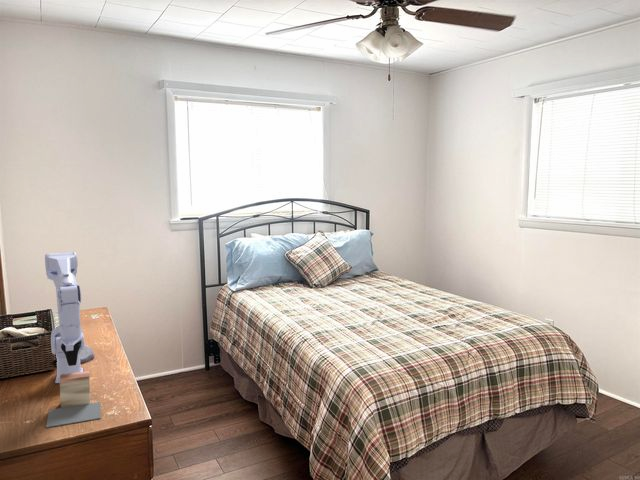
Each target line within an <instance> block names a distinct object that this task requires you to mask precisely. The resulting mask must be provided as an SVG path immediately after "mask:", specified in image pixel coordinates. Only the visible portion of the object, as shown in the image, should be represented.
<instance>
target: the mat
mask: <svg viewBox="0 0 640 480" xmlns="http://www.w3.org/2000/svg"><path fill="white" fill-rule="evenodd" d="M101 405H102V402H101V401H98V402H92V403H91V402H90V404H84V405H78V406H71V407H65V408H61V407H59V408H54V409H49V411H48V415H47V420H46V424H45V428H46V429H48V428H55V427H60V426H67V425H71V424H72V425H73V424H78V423H83V422H90V421H94V420H101V416H102V415H101V413H102V412H101V411H102V410H101V408H102V406H101Z"/></svg>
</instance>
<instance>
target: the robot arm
mask: <svg viewBox="0 0 640 480" xmlns="http://www.w3.org/2000/svg"><path fill="white" fill-rule="evenodd" d="M44 264H45V265H44V267H45V272H46V273H45V274H46V277H47V279H49V280H50V281H53V283H54V286H55V293H56V304H57V316H58V326H57V327H55V328H54V329H53V330H52V331H51V334H50V347H51V353H52V355H54V356H55V354H56V358H57V362H56V370H57V372H56V377H55V382H54V383H55V384H60V375H61V374H69V373H77V372H84V368H83V367H81V366H82V365H81V363H80V353H81V350H83V349H84V344H85V337H84V333H83V331H84V330H83V328H82V327H81V325H82V324H81V323H82V322H81V303H82V289H81V287H80V285H79V283H77V279H76V276H77V272H78V264H79V263H78V255H77V253H76V252H75V251H72V252H55V253H45V254H44Z"/></svg>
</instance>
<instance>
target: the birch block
mask: <svg viewBox="0 0 640 480" xmlns="http://www.w3.org/2000/svg"><path fill="white" fill-rule="evenodd" d="M90 382H91V379H90V370H85V371H84V370H83V372H77V373H69V374H61V375H60V383H59V397H60V408H65V407H71V406H78V405H84V404H90V403H91V383H90Z"/></svg>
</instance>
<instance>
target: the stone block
mask: <svg viewBox="0 0 640 480" xmlns="http://www.w3.org/2000/svg"><path fill="white" fill-rule="evenodd" d="M94 359H95V353H94V350H93V349H92V348H91V347H90V346H89V345H88V344H85V343H84V349H83V350H81V353H80V364H81V363H85V362H89V361H92V360H94Z"/></svg>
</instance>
